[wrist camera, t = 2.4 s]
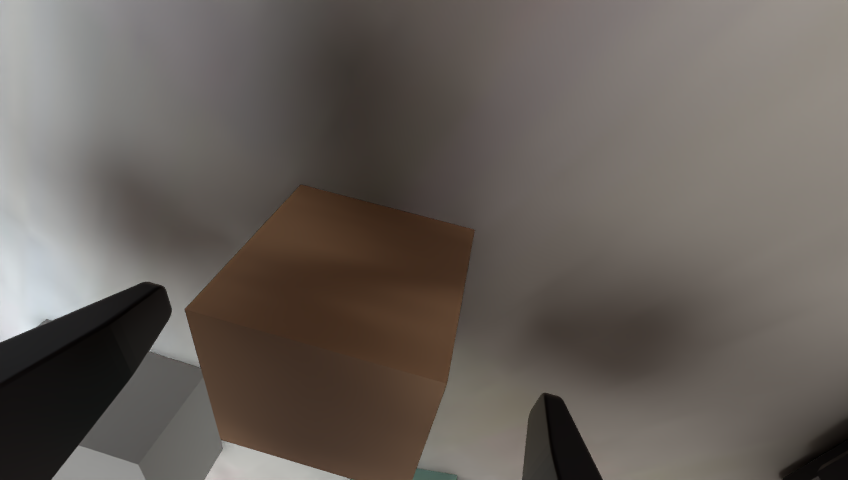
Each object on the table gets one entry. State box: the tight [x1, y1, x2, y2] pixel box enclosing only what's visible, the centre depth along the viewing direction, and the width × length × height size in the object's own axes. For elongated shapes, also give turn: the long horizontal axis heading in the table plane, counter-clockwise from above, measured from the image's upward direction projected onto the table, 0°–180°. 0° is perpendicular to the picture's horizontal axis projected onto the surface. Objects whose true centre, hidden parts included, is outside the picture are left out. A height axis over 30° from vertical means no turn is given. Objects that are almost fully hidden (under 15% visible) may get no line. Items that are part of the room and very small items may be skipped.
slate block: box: [39, 319, 223, 480], centre depth 17 cm, size 7×7×4 cm
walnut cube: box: [185, 185, 475, 480], centre depth 10 cm, size 4×4×4 cm
